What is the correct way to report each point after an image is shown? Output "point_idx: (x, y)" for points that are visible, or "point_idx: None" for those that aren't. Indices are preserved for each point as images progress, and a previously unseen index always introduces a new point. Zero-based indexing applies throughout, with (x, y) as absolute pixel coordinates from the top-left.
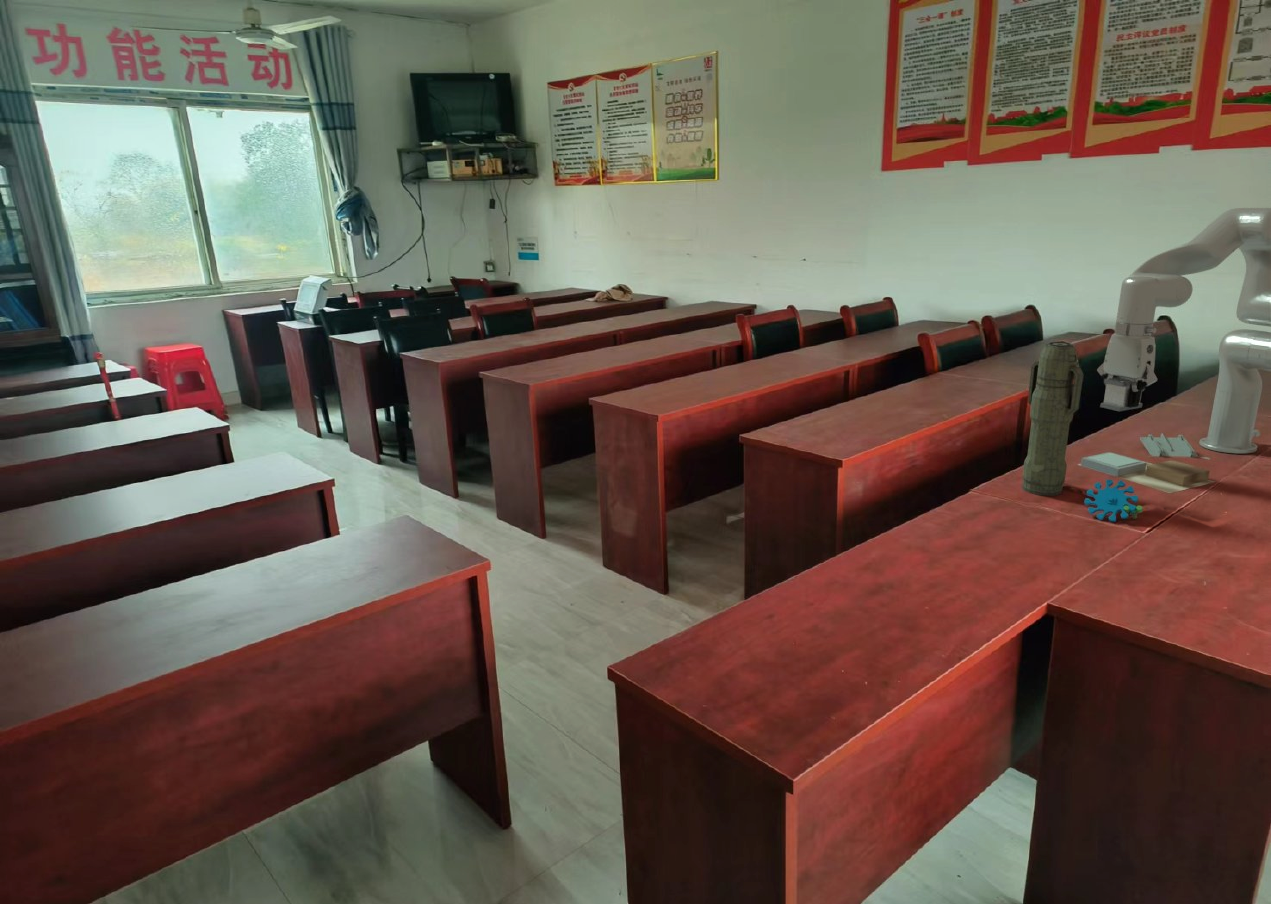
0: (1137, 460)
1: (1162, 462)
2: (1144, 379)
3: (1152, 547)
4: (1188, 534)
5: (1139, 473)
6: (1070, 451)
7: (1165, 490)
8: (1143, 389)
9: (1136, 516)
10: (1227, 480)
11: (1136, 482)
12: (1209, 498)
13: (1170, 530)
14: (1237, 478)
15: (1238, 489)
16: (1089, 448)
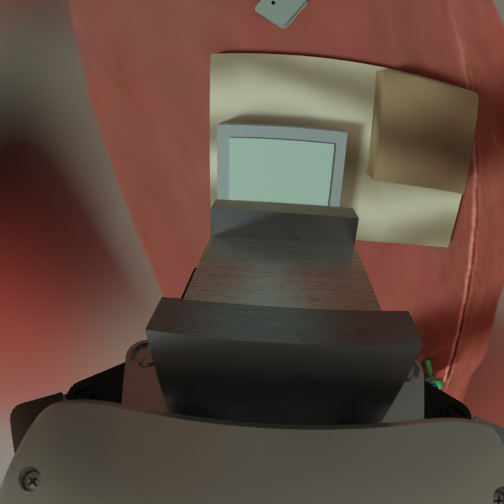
0: (319, 134)
1: (383, 115)
2: (409, 368)
3: (457, 396)
4: (485, 347)
5: (348, 169)
6: (106, 122)
7: (437, 238)
8: (416, 371)
9: (430, 362)
10: (464, 32)
11: (378, 240)
12: (490, 186)
13: (468, 354)
14: (465, 4)
15: (500, 83)
16: (110, 57)
